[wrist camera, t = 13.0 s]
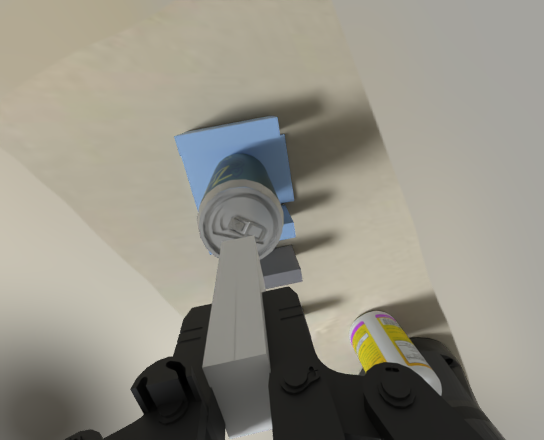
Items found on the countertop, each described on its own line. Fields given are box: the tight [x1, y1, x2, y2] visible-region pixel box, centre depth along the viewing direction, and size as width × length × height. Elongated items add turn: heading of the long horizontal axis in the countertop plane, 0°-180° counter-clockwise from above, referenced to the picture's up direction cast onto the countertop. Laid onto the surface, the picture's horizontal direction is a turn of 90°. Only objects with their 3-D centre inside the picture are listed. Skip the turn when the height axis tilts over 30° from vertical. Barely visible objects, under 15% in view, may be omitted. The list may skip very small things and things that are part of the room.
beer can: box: [197, 153, 284, 260], centre depth 21 cm, size 5×5×12 cm
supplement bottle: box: [349, 311, 442, 396], centre depth 31 cm, size 7×7×13 cm
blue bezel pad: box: [181, 134, 294, 211], centre depth 27 cm, size 7×10×1 cm
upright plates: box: [174, 116, 311, 337], centre depth 28 cm, size 24×8×5 cm, turn 10°
